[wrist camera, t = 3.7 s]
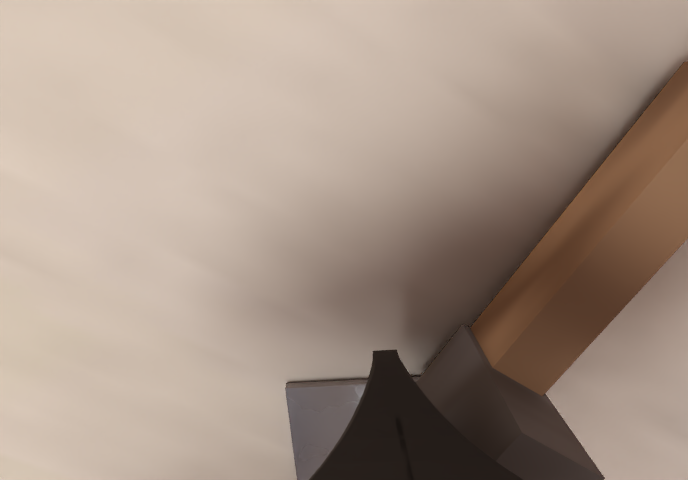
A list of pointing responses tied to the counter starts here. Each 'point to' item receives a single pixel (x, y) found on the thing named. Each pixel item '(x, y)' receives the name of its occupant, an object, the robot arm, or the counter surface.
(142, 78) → the counter surface
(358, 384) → the pivot base
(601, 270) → the lever
